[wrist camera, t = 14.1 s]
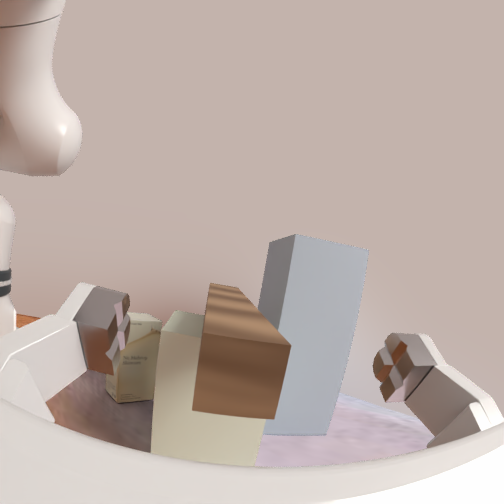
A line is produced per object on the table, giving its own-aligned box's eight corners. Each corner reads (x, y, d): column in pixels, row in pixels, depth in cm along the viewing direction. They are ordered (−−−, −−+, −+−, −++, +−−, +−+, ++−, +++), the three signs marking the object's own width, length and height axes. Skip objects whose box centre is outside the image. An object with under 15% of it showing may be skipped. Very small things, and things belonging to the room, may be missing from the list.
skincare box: (116, 404, 32) (122, 319, 33) (104, 389, 35) (109, 310, 36) (155, 399, 37) (164, 320, 38) (140, 386, 40) (148, 312, 41)
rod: (274, 419, 11) (291, 345, 11) (191, 410, 11) (203, 332, 11) (233, 314, 37) (237, 287, 37) (205, 310, 37) (210, 282, 37)
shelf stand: (325, 434, 34) (369, 249, 36) (255, 433, 33) (295, 234, 35) (296, 391, 50) (324, 253, 52) (242, 386, 49) (269, 242, 50)
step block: (250, 480, 23) (281, 349, 24) (150, 467, 22) (161, 330, 23) (240, 432, 33) (262, 324, 34) (162, 421, 32) (175, 310, 32)
